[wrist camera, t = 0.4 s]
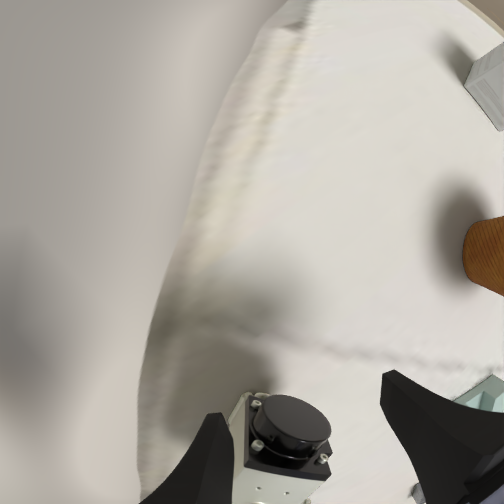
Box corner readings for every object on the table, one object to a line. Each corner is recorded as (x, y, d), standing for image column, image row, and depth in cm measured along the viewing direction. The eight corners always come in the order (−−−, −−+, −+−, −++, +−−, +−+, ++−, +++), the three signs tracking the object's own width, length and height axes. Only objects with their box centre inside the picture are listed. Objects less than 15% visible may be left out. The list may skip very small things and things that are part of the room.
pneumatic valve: (205, 442, 21) (186, 540, 9) (256, 348, 21) (262, 458, 9) (258, 458, 22) (262, 553, 10) (317, 370, 21) (366, 473, 9)
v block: (483, 412, 22) (498, 425, 18) (430, 446, 22) (444, 463, 18) (493, 374, 21) (511, 385, 17) (438, 409, 21) (455, 427, 17)
